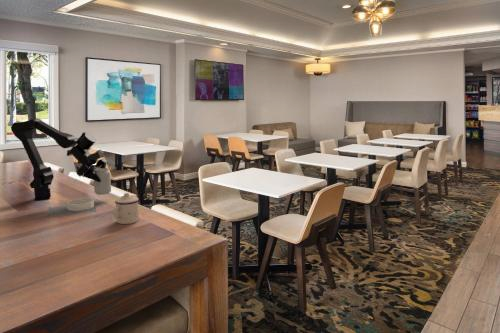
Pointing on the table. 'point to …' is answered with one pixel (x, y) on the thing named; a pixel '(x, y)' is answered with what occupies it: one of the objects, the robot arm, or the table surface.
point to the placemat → (66, 211)
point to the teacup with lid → (126, 209)
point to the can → (102, 181)
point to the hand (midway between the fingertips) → (104, 179)
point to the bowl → (80, 204)
